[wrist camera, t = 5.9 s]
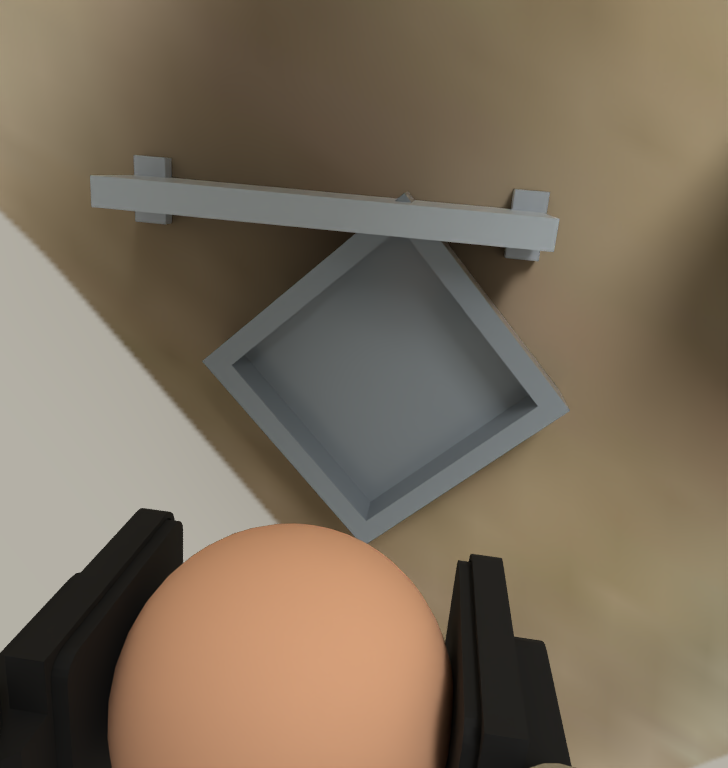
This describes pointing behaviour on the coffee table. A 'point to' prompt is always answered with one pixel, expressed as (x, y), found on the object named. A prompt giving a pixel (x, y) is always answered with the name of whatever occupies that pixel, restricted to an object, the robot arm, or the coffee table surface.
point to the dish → (386, 378)
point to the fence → (328, 209)
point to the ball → (283, 661)
